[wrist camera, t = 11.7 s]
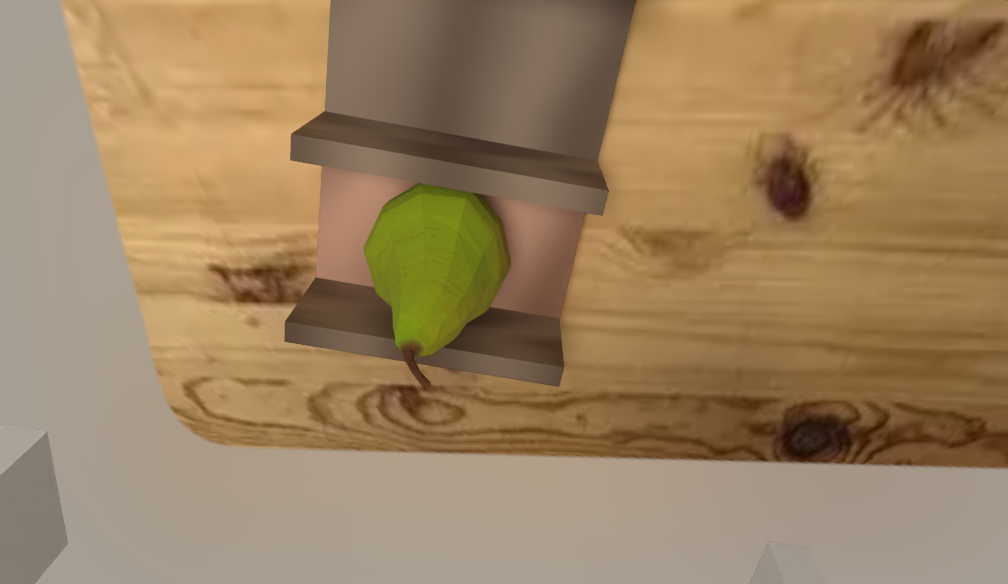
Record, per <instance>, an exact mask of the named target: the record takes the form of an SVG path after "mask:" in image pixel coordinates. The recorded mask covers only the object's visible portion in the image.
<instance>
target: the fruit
mask: <svg viewBox="0 0 1008 584" xmlns="http://www.w3.org/2000/svg"><path fill="white" fill-rule="evenodd" d="M364 254H365V257H366V260H367V264H368V267H369V270H370V274H371V277H372V281H373V284H374V287H375V290H376V293H377V295H378V296H379V297H381V298H382V299H383V300H384V301H385V302H386V303H387V304H388V305H389V306H391V307H392V313H393V330H394V334H395V344H396V345H397V346H398V347H399V349H400V350H401V352H402V354H403V357H404V359H405V362H406V363H407V365H408V367H409V369H410V370H411V372H412V374H413V375H414V376H415V377H416V379H417V380H418V381H419V382H420V384H421V385H422V386H423V387H425V388H427V387H430V386H431V383H430V382H429V381H428V380H427V378H426V377H425V376H424V375H423V374H422V373H421V372H420V370H419V368H418V366H417V364H416V363H415V360H414V356H417V357H419V356H426V355H432V354H433V353H435V352H436V351H438V350H439V349H441V348H442V347H444V346H445V345H447V344H448V343H450V342H451V341H452V340H454V339H455V338H456V337H457V336H458V335H459V334H460V332H461V331H462V329H463V328H464V326H465V325H466V324H467V323H468V322H470V321H472V320H473V319H475V318H477V317H478V316H480V315H482V314H483V313H485V312H486V311H487V310H488V309H489V307H490V305H491V303H492V301H493V299H494V298H495V296H496V294H497V292H498V290H499V288H500V286H501V285H502V283H503V281H504V279H505V277H506V275H507V273H508V271H509V268H510V265H511V259H510V255H509V250H508V245H507V241H506V236H505V231H504V226H503V222H502V220H501V218H500V217H499V216H498V215H497V214H496V212H495V211H494V210H493V209H492V208H491V207H490V205H489V204H488V203H487V202H486V201H485V199H484V198H483V197H482V196H481V195H480V194H478V193H472V192H466V191H461V190H455V189H449V188H444V187H438V186H433V185H427V184H421V183H417V184H416V185H414V186H412V187H411V188H409V189H407V190H406V191H404V192H402V193H401V194H399V195H397V196H396V197H394V198H392V199H391V200H389V201H388V202H387V203H386V204H385V205H384V206H383V207H382V209H381V211H380V213H379V215H378V217H377V220H376V222H375V224H374V226H373V228H372V230H371V232H370V234H369V236H368V239H367V241H366V243H365V245H364Z"/></svg>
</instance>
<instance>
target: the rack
mask: <svg viewBox="0 0 1008 584" xmlns="http://www.w3.org/2000/svg"><path fill="white" fill-rule="evenodd" d="M635 1H636V0H331V6H330V24H329V43H328V62H327V81H326V99H325V111H324V112H323V113H322V114H320V115H319V116H317V117H316V118H314V119H313V120H311V121H310V122H308V123H307V124H305V125H304V126H302V127H301V128H299V129H298V130H296V131H295V132H293V133H292V134H291V155H290V160H292V161H297V162H303V163H309V164H314V165H320V166H322V174H321V193H320V212H319V230H318V249H317V268H316V278H315V279H314V281H313V282H312V284H311V285H310V287H309V288H308V290H307V291H306V292H305V294H304V295H303V297H302V298H301V300H300V301H299V302H298V304H297V305H296V307H295V308H294V310H293V311H292V312H291V314H290V315H289V317H288V318H287V320H286V321H285V342H289V343H295V344H301V345H308V346H314V347H320V348H326V349H332V350H338V351H344V352H350V353H356V354H362V355H368V356H375V357H381V358H387V359H393V360H399V361H405V359H404V357H403V354H402V352H401V350H400V349H399V347H398V346H397V345H396V344H395V334H394V330H393V313H392V307H391V306H389V305H388V304H387V303H386V302H385V301H384V300H383V299H382V298H381V297H379V296H378V295H377V293H376V290H375V287H374V284H373V281H372V277H371V274H370V270H369V267H368V264H367V260H366V257H365V254H364V245H365V243H366V241H367V239H368V236H369V234H370V232H371V230H372V228H373V226H374V224H375V222H376V220H377V217H378V215H379V213H380V211H381V209H382V207H383V206H384V205H385V204H386V203H387V202H388V201H389V200H391V199H392V198H394V197H396V196H397V195H399V194H401V193H402V192H404V191H406V190H407V189H409V188H411V187H412V186H414V185H416V184H417V183H421V184H427V185H433V186H438V187H444V188H449V189H455V190H461V191H466V192H472V193H478V194H480V195H481V196H482V197H483V198H484V199H485V201H486V202H487V203H488V204H489V205H490V207H491V208H492V209H493V210H494V211H495V212H496V214H497V215H498V216H499V217H500V218H501V220H502V222H503V226H504V231H505V236H506V241H507V245H508V250H509V255H510V259H511V265H510V268H509V271H508V273H507V275H506V277H505V279H504V281H503V283H502V285H501V286H500V288H499V290H498V292H497V294H496V296H495V298H494V299H493V301H492V303H491V305H490V307H489V309H488V310H487V311H486V312H485V313H483V314H482V315H480V316H478V317H477V318H475V319H473V320H472V321H470V322H468V323H467V324H466V325H465V326H464V328H463V329H462V331H461V332H460V334H459V335H458V336H457V337H456V338H455V339H454V340H452V341H451V342H450V343H448V344H447V345H445V346H444V347H442V348H441V349H439V350H438V351H436V352H435V353H433V354H432V355H426V356H419V357H417V356H414V360H415V363H417V364H423V365H429V366H435V367H442V368H448V369H454V370H460V371H466V372H472V373H478V374H484V375H490V376H496V377H502V378H509V379H515V380H521V381H527V382H533V383H539V384H545V385H551V386H557V387H559V386H560V382H561V378H562V374H563V370H564V362H563V352H562V341H561V331H560V321H559V318H560V314H561V309H562V305H563V301H564V297H565V293H566V289H567V284H568V280H569V276H570V272H571V268H572V264H573V259H574V255H575V251H576V247H577V243H578V239H579V234H580V230H581V226H582V222H583V218H584V214H585V213H590V214H596V215H602V216H603V212H604V208H605V204H606V200H607V196H608V192H609V190H608V188H607V185H606V182H605V180H604V177H603V174H602V172H601V169H600V167H599V164H598V161H597V159H598V155H599V151H600V147H601V143H602V139H603V134H604V130H605V126H606V122H607V118H608V114H609V109H610V105H611V101H612V97H613V93H614V89H615V84H616V80H617V76H618V72H619V68H620V64H621V59H622V55H623V51H624V47H625V43H626V39H627V34H628V30H629V26H630V22H631V18H632V14H633V9H634V5H635Z"/></svg>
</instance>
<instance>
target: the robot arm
mask: <svg viewBox="0 0 1008 584" xmlns="http://www.w3.org/2000/svg"><path fill="white" fill-rule="evenodd" d="M67 544H68V541H67V536H66V531H65V525H64V519H63V514H62V509H61V503H60V498H59V493H58V487H57V482H56V477H55V471H54V466H53V460H52V455H51V450H50V445H49V439H48V434H47V432H45V431H38V430H32V429H25V428H19V427H12V426H5V425H3V426H2V427H1V428H0V584H35V583H36V582H37V580H38V579H39V578H40V577H41V576H42V575H43V573H44V572H45V571H46V570H47V568H48V567H49V566H50V565H51V564H52V562H53V561H54V560H55V559H56V558H57V556H58V555H59V554H60V553H61V552H62V550H63V549H64V548H65V547H66V545H67ZM749 584H826V583H825V581H824V578H823V576H822V574H821V572H820V570H819V568H818V566H817V564H816V562H815V559H814V557H813V555H812V553H811V551H810V549H809V548H806V547H798V546H792V545H785V544H779V543H773V542H768V544H767V546H766V548H765V550H764V552H763V555H762V557H761V559H760V561H759V563H758V565H757V568H756V570H755V572H754V575H753V576H752V579H751V581H750V583H749Z"/></svg>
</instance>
